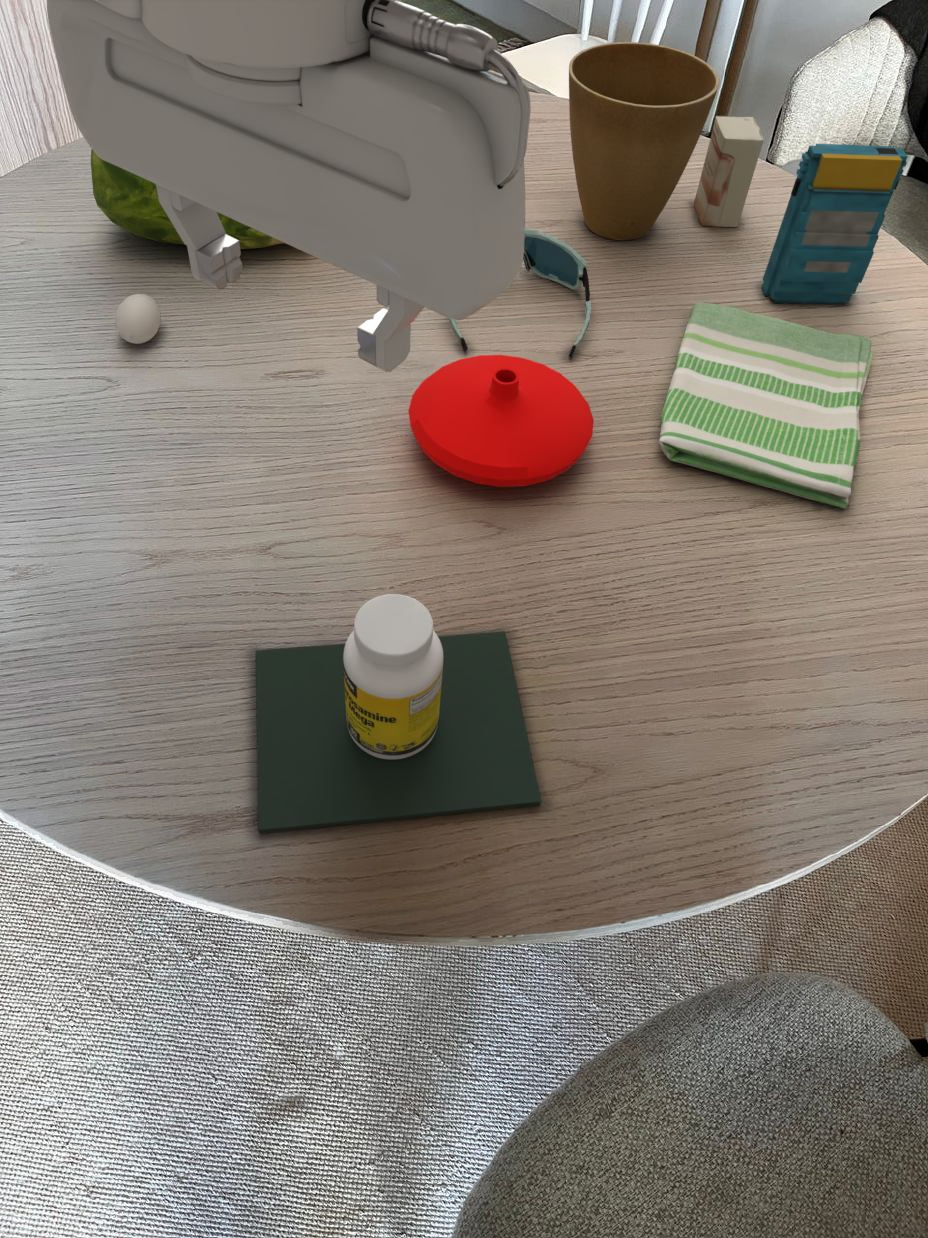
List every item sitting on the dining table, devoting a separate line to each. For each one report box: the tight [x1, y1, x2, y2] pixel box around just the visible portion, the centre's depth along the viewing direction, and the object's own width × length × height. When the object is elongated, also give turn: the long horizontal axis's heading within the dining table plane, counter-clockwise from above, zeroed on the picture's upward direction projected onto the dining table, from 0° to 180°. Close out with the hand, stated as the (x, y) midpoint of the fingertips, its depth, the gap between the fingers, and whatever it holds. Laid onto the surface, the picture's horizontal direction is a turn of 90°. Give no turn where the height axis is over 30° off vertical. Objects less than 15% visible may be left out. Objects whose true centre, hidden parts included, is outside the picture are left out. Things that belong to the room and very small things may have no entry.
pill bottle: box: [343, 593, 443, 760], centre depth 62 cm, size 6×6×11 cm
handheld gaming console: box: [761, 143, 909, 305], centre depth 97 cm, size 10×4×15 cm, turn 93°
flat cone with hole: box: [407, 354, 595, 488], centre depth 83 cm, size 16×16×7 cm
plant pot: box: [568, 41, 720, 241], centre depth 103 cm, size 15×15×16 cm
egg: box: [115, 293, 162, 345], centre depth 90 cm, size 4×6×4 cm, turn 176°
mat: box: [255, 630, 542, 834], centre depth 67 cm, size 18×14×1 cm
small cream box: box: [693, 115, 765, 228], centre depth 108 cm, size 5×4×10 cm
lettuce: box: [90, 148, 285, 250], centre depth 99 cm, size 14×23×13 cm, turn 83°
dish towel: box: [658, 302, 874, 510], centre depth 90 cm, size 18×23×3 cm
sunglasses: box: [448, 228, 592, 359], centre depth 96 cm, size 14×15×5 cm
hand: (298, 317), depth 43 cm, fingers open, 8 cm apart
